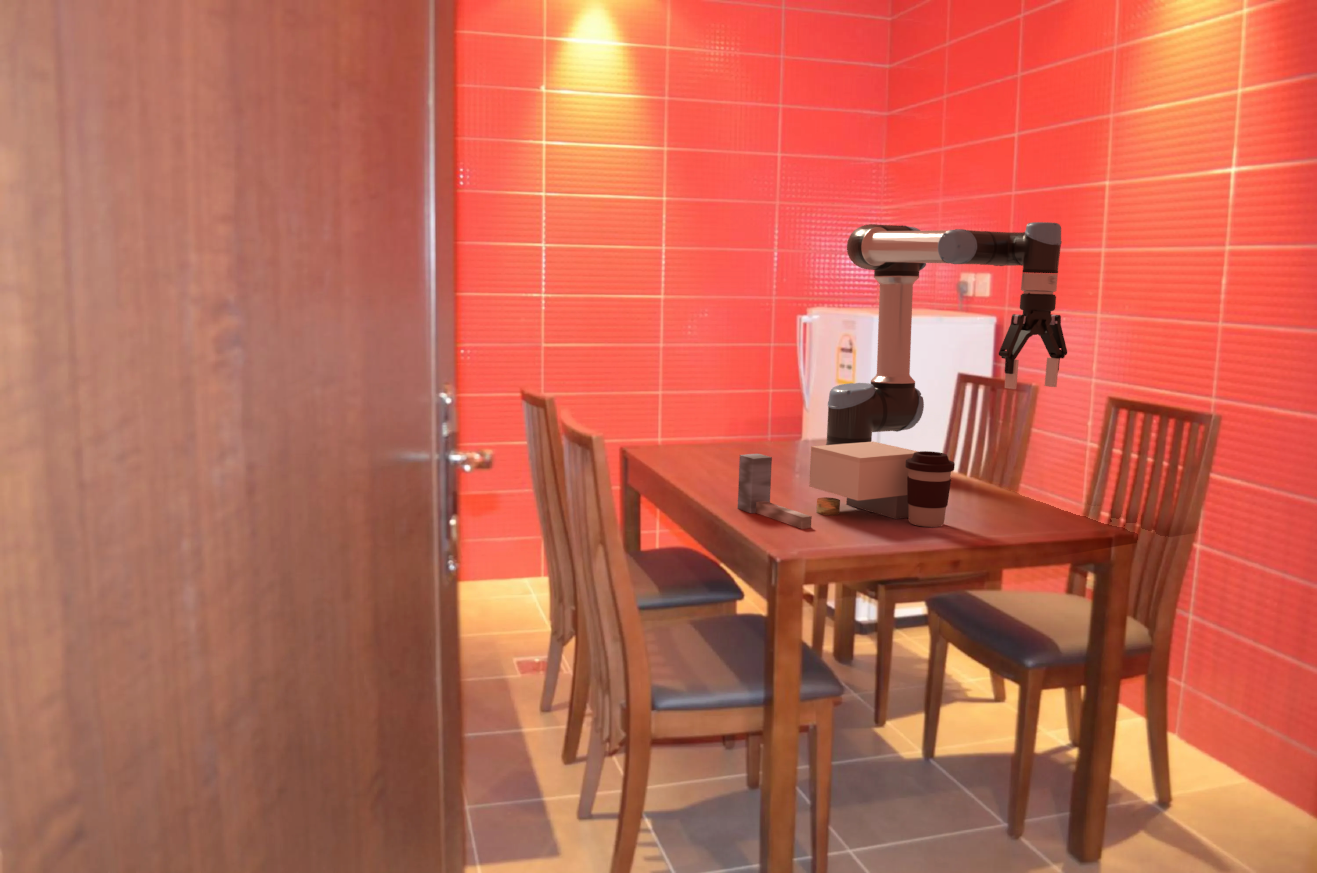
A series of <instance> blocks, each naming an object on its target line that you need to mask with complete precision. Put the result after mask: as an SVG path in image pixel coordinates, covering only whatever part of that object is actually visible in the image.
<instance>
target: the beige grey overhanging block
mask: <svg viewBox="0 0 1317 873" xmlns="http://www.w3.org/2000/svg"><path fill="white" fill-rule="evenodd" d="M915 452H920V451H918V450H914V449H909V448H904V447H899V446H895V445H891V444H887V443H880V442H877V441H871V442H862V443H849V444H836V445H826V444H824V445H812V446H810V464H809V483H808V484H809V485H808V486H809V488H810V487H811V488H812V489H813V488H814V489H817V490H820V491H824V492H827V493H829V494H830V493H831V494H833V495H837V496H840V497H844V498H846V506H847V505H848V506H851V507H854V508H858V509H861V510H865V511H868V512H871V513H874V514H877V515H880V516H885V517H887V518H891V519H894V520H898V519H903V518H904V519H905V518H909V508H908V502H907V476H908V468H906V459H908V458H912V456H913V454H914V453H915Z"/></svg>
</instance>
